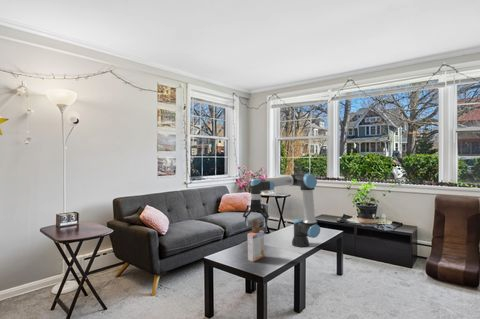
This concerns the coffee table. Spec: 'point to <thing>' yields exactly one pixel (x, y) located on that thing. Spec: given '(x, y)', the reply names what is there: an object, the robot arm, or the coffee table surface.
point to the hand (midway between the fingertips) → (255, 226)
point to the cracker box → (255, 246)
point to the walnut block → (255, 226)
